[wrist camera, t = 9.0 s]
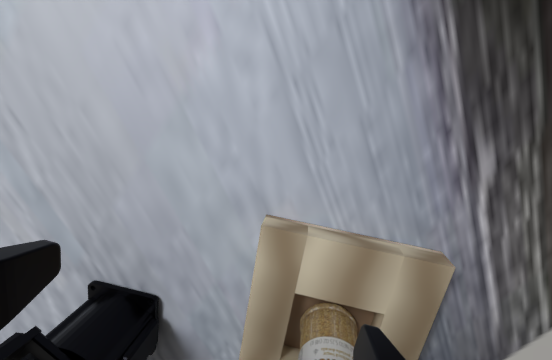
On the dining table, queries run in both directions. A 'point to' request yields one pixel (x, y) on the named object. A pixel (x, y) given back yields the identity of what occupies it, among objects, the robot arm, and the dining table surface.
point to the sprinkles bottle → (327, 333)
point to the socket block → (339, 286)
